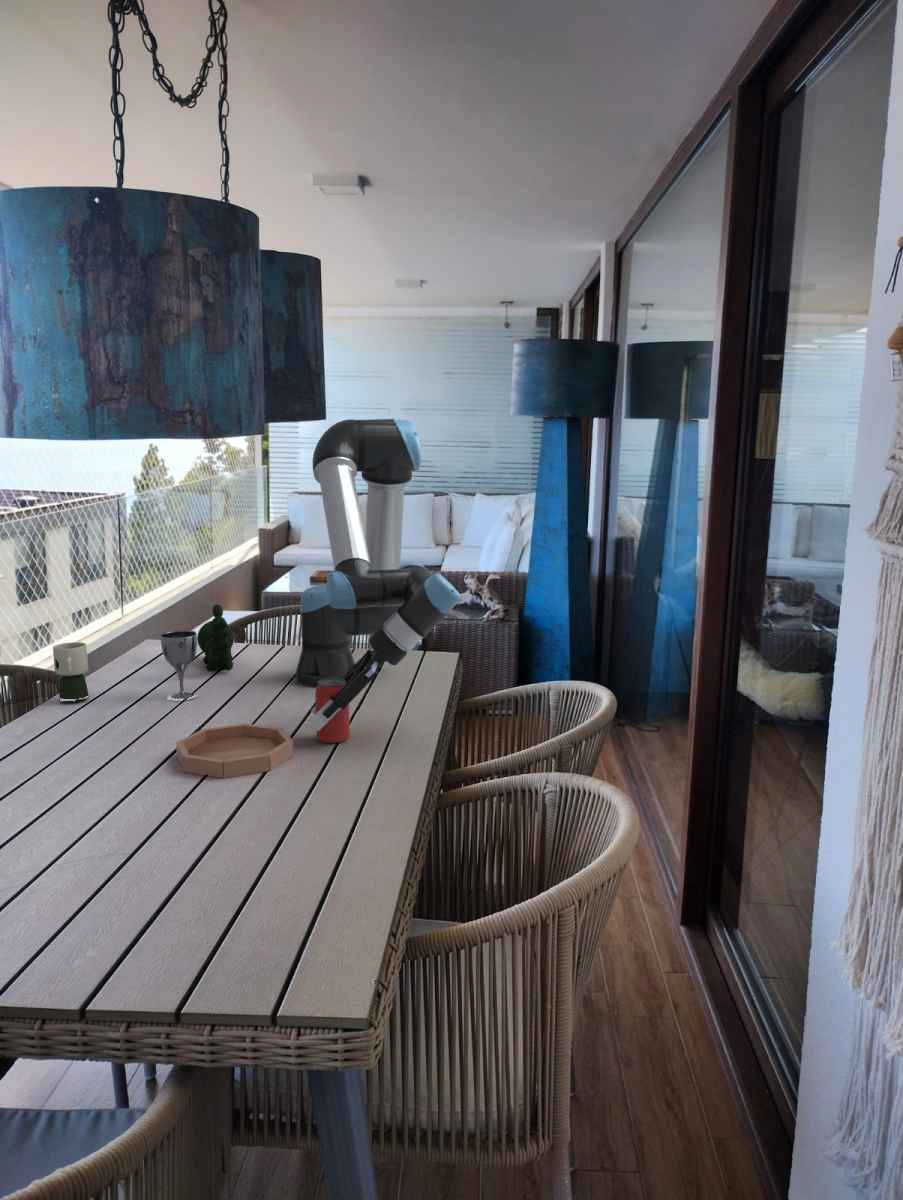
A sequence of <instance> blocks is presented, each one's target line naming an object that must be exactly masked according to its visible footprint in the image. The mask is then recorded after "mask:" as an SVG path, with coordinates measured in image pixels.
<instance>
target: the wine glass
mask: <svg viewBox="0 0 903 1200" xmlns="http://www.w3.org/2000/svg"><path fill="white" fill-rule="evenodd" d="M197 635H198V633H197V632H196V631H195V630H188V629H185V630H183V629H181V630H179V629H178V630H170V631H166V632H162V633H160V644H161V650H162V654H163V657H164V659H165V661H166V662H167V663H168V664H169V665H170V666H171V667H172V668H174V670H175V672H176V673H177V676H178V681H179V692H178V693H177V692H176V693H177V694H176V693H172V694H173V695H172V694H171V695H172V696H171V697H172V698H175V699H176V698H177V699H179V698H180V699H181V698H183V699H186V698H189V697H192V696H194V694H192V693H193V692H185V691H184V690H185V688H184V677H185V672H186V670H187V668H188V666H190V664H191V663H192V662H193V660H194V658H195V656H196V652H197V647H198V646H197V645H198V640H197Z"/></svg>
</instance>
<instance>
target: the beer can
mask: <svg viewBox="0 0 903 1200" xmlns="http://www.w3.org/2000/svg"><path fill="white" fill-rule="evenodd" d="M345 685H346V681H345V680H344V679H342V678H325V679H321V680H319V681H318V685H317V686H316V688H315V693H314V694H315V695H314V696H315V706H316V713H317V712H318V711H319V710H320V709H321V708H322V707H323V706H324V705H325V704H326V703H327V702H328V701H329V700H330V698H329V697H330V696H333V697H335V696H336V695H337V694H338V692H339V691H340V690H341V689H342V688H343V687H344V686H345ZM343 701H344V700H343ZM350 726H351V725H350V703H349V704H348V705H347V707H346V708H345V709H343V708H342V709H340V710H339V711H338V712H337V713H336V714H335V715H334V716H333V717H332V718H331V719H330V720H329V721H328V722H327V723H326V724H325V725H324V726H323V727H322V728H321V729H320V730H319V731H317V730H316V729H315V730H316V738H317V740H318V741H320V742H321V743H324V744H339V743H343V742H346V741H347V740H348V739H349V738H350V737H351V736H350V735H351V733H350V732H351V729H350Z"/></svg>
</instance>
